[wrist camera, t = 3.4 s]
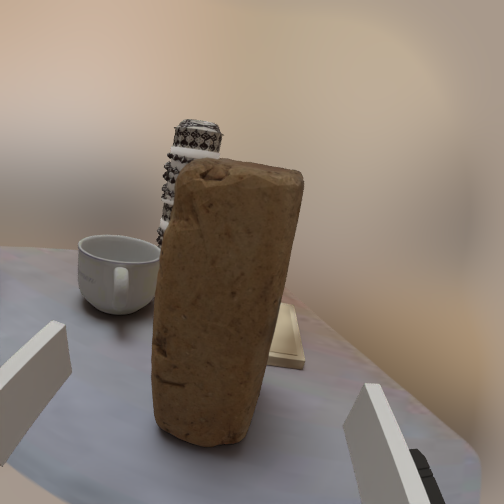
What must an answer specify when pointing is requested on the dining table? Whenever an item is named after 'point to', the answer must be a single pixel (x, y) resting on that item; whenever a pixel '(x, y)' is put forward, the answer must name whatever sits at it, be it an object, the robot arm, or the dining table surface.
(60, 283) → the dining table surface
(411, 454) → the robot arm
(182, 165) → the decorative candle
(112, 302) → the teacup
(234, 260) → the block
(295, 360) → the beige packet
